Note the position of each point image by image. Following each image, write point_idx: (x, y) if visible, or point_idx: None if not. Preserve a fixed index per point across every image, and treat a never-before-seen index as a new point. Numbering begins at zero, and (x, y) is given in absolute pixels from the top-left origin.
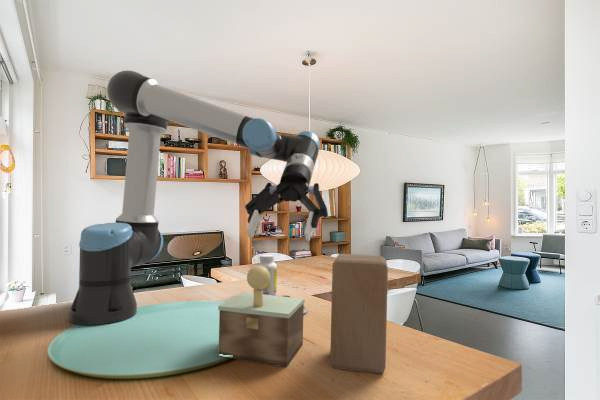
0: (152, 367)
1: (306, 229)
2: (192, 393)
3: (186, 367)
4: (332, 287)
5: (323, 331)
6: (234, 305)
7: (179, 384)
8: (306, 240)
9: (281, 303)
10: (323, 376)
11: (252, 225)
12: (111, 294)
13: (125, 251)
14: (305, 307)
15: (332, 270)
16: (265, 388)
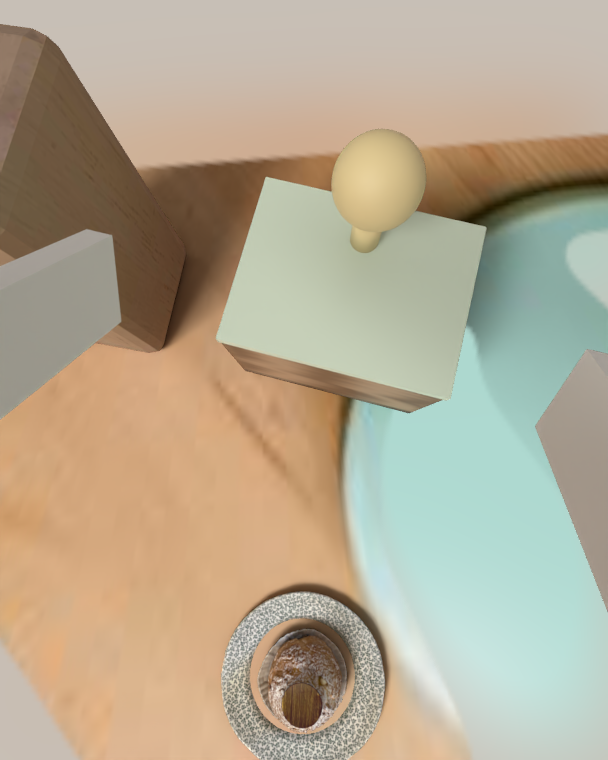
0: (556, 230)
1: (77, 242)
2: (437, 149)
3: (486, 236)
4: (106, 128)
5: (182, 472)
6: (438, 236)
7: (472, 174)
8: (118, 316)
9: (292, 273)
10: (206, 221)
11: (605, 410)
12: None
13: None
14: (227, 708)
15: (74, 82)
16: (314, 173)
